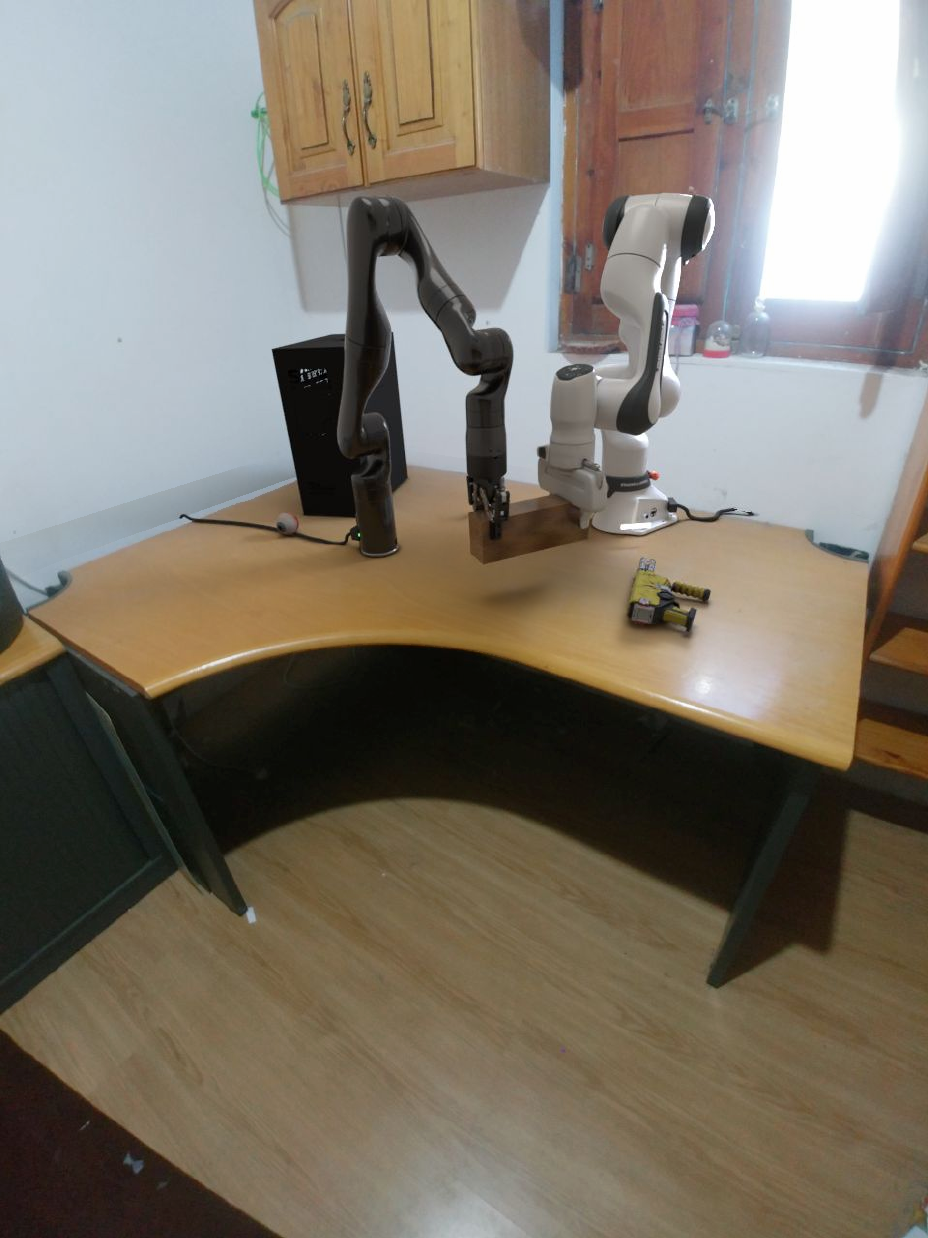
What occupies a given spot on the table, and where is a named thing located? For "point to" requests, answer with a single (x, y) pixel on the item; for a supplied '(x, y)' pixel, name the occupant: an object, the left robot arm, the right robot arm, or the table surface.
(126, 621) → the table surface
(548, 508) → the box
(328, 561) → the table surface
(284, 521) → the eyeball
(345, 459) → the cardboard box
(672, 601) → the toy gun
